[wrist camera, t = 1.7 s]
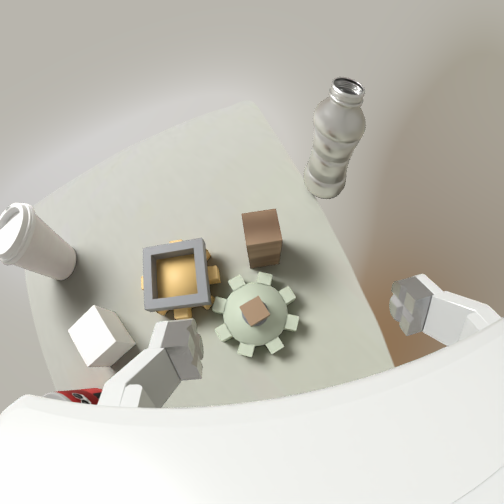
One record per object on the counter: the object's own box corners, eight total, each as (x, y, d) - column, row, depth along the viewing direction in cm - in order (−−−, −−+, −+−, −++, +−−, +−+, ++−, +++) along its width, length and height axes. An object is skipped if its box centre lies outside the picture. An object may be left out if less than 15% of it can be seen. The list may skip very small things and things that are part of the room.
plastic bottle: (320, 211, 41) (352, 111, 22) (293, 180, 43) (305, 77, 24) (349, 192, 42) (389, 97, 23) (322, 164, 44) (346, 66, 25)
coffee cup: (86, 235, 42) (34, 191, 28) (79, 288, 38) (17, 258, 24) (50, 240, 42) (-1, 203, 28) (43, 289, 38) (-16, 262, 24)
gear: (312, 328, 35) (319, 325, 30) (241, 371, 33) (237, 374, 29) (269, 262, 38) (270, 249, 34) (201, 301, 37) (192, 294, 32)
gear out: (224, 315, 36) (219, 310, 32) (150, 323, 36) (137, 319, 32) (215, 241, 40) (210, 227, 36) (147, 252, 40) (135, 241, 36)
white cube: (90, 335, 36) (67, 330, 30) (115, 312, 37) (93, 304, 31) (110, 367, 34) (87, 367, 28) (136, 344, 35) (115, 341, 30)
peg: (279, 263, 38) (282, 239, 30) (250, 268, 38) (246, 245, 30) (273, 237, 40) (275, 208, 32) (246, 241, 40) (241, 213, 32)
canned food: (130, 436, 30) (89, 455, 20) (88, 431, 30) (45, 444, 20) (120, 388, 33) (75, 394, 22) (80, 386, 33) (33, 389, 22)
